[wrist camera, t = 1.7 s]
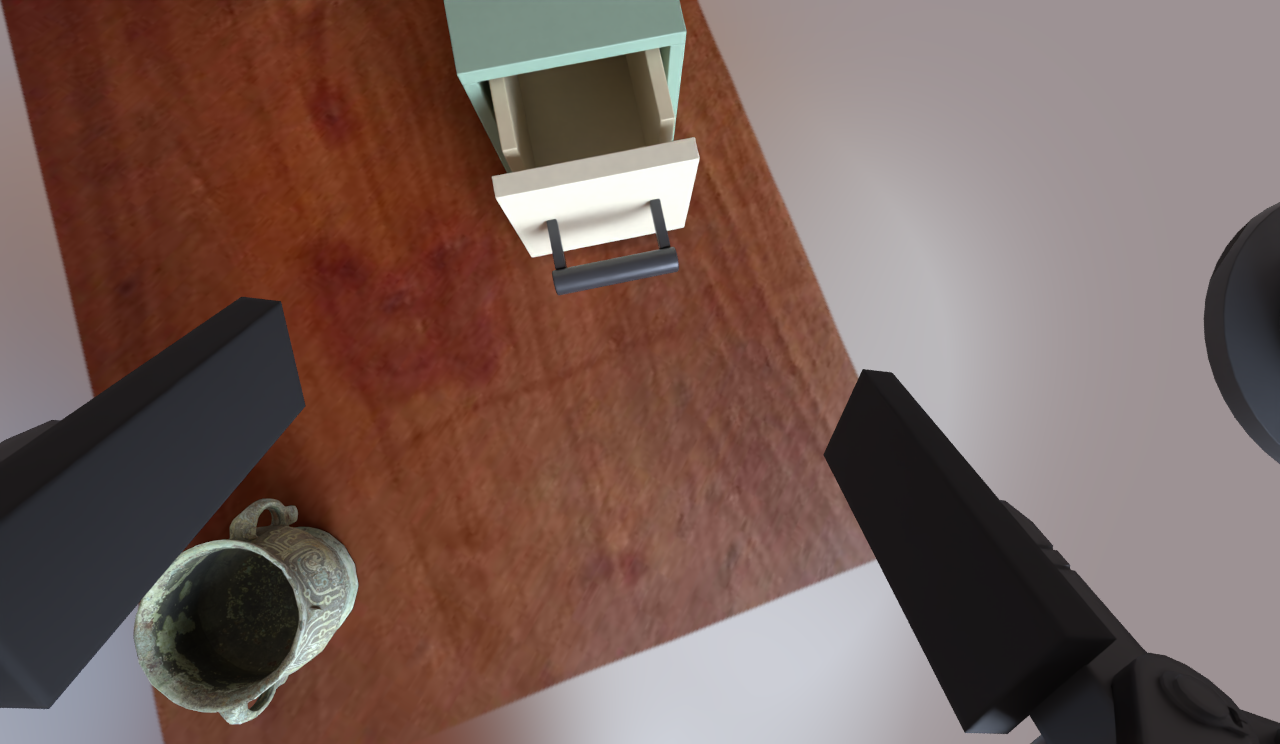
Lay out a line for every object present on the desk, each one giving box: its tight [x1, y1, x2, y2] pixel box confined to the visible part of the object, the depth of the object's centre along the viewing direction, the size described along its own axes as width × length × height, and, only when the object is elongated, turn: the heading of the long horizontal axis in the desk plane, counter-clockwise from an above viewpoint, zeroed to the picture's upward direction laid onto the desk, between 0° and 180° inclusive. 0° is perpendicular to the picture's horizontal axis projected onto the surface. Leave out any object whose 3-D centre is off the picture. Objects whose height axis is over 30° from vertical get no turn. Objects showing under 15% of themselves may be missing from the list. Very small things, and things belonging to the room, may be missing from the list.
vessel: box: [134, 499, 358, 724], centre depth 30 cm, size 12×9×6 cm
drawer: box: [489, 48, 699, 295], centre depth 31 cm, size 18×10×9 cm, turn 12°
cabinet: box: [444, 0, 686, 173], centre depth 31 cm, size 15×12×11 cm
